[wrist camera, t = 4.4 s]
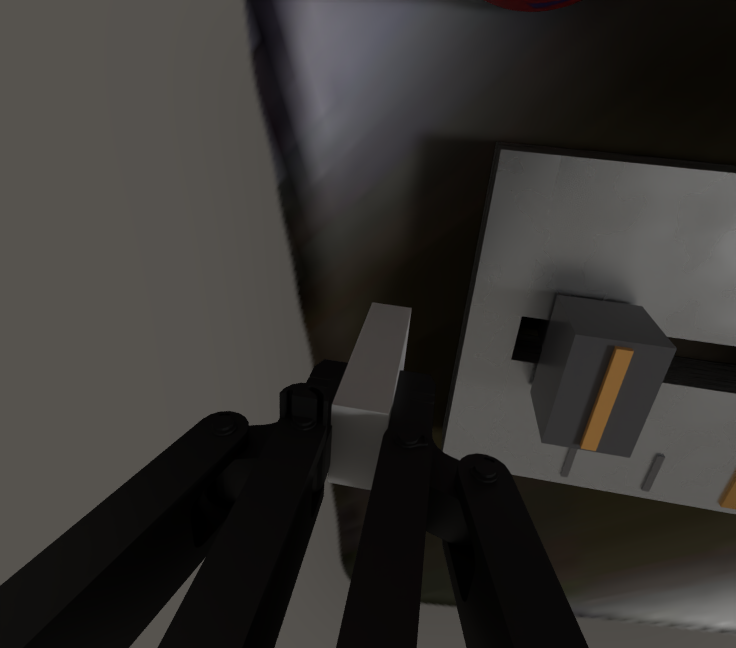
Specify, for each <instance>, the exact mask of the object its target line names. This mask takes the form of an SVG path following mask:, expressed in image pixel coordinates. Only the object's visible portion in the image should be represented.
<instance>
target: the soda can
mask: <svg viewBox="0 0 736 648" xmlns="http://www.w3.org/2000/svg"><path fill="white" fill-rule="evenodd" d="M484 1H486V2H489V3H491V4H493V5H496V6H499V7H502V8H505V9H510V10H515V11H524V12H539V11H548V10H554V9H559V8H562V7H566V6H569V5H572V4H575V3H578V2H580V1H582V0H484Z"/></svg>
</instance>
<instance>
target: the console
mask: <svg viewBox="0 0 736 648" xmlns="http://www.w3.org/2000/svg"><path fill="white" fill-rule="evenodd" d="M557 295H563V296H571V297H578V298H586V299H593V300H601V301H608V302H616V303H623V304H630V305H638V306H642V307H643V308H644V309H645V310H646V311H647V313H648V314H649V315H650V316H651V318H652V319H653V320H654V321H655V323H656V324H657V325H658V326H659V328H660V329H661V330H662V331H663V332H664V334H665V335H666V336H667V337H673V338H680V339H687V340H695V341H702V342H709V343H716V344H723V345H730V346H736V165H726V164H716V163H706V162H696V161H686V160H676V159H666V158H656V157H646V156H636V155H626V154H616V153H607V152H597V151H587V150H577V149H567V148H557V147H547V146H537V145H527V144H517V143H507V142H497V141H496V146H495V151H494V157H493V162H492V167H491V173H490V178H489V183H488V189H487V194H486V199H485V205H484V210H483V215H482V221H481V226H480V231H479V236H478V242H477V247H476V252H475V258H474V263H473V268H472V274H471V279H470V284H469V290H468V295H467V300H466V306H465V311H464V316H463V322H462V327H461V332H460V338H459V343H458V348H457V354H456V359H455V364H454V370H453V375H452V380H451V385H450V391H449V396H448V401H447V407H446V412H445V417H444V423H443V428H442V447H441V451H443V452H444V453H445V454H447V455H449V456H451V457H453V458H456V459H458V460H461V458H463V457H465V456H466V455H468V454H475V453H479V454H486V455H489V456H491V457H494V458H496V459H498V460H499V461H501V462H502V463H503V464H505V466H506V467H507V468H508V470H509V471H510V473H511V474H513V475H519V476H524V477H530V478H535V479H541V480H547V481H552V482H558V483H563V484H569V485H575V486H580V487H586V488H592V489H597V490H603V491H608V492H614V493H620V494H625V495H631V496H636V497H642V498H648V499H653V500H659V501H665V502H670V503H676V504H681V505H687V506H693V507H698V508H704V509H709V510H715V511H721V512H726V513H732V514H736V365H730V364H724V363H717V362H710V361H703V360H696V359H689V358H682V357H675V356H674V357H673V359H672V361H671V364H670V366H669V368H668V371H667V373H666V375H665V378H664V380H663V382H662V385H661V387H660V389H659V392H658V394H657V396H656V399H655V401H654V403H653V405H652V408H651V410H650V412H649V415H648V417H647V419H646V422H645V424H644V426H643V429H642V431H641V433H640V436H639V438H638V440H637V443H636V445H635V447H634V450H633V452H632V454H631V457H630V458H627V457H621V456H615V455H610V454H604V453H598V452H592V451H586V450H580V449H574V448H568V447H562V446H556V445H551V444H545V443H541V438H540V434H539V429H538V425H537V420H536V416H535V412H534V407H533V403H532V398H531V394H530V390H531V387H532V383H533V380H534V376H535V373H536V369H537V366H538V362H539V358H540V355H541V351H542V346H541V343H540V340H539V337H537V336H530V335H523V334H518V330H519V326H520V322H521V318H522V316H524V317H531V318H538V319H545V320H550V319H551V316H552V312H553V309H554V305H555V302H556V298H557Z"/></svg>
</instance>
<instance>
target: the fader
mask: <svg viewBox="0 0 736 648" xmlns="http://www.w3.org/2000/svg"><path fill="white" fill-rule="evenodd" d="M537 333H538V336H539V340H540V343H541V346H542V351H541V355H540V358H539V362H538V366H537V369H536V373H535V376H534V380H533V383H532V387H531V390H530V394H531V398H532V403H533V407H534V412H535V416H536V420H537V425H538V429H539V434H540V438H541V443H545V444H551V445H556V446H562V447H568V448H574V449H580V450H586V451H592V452H598V453H604V454H610V455H615V456H621V457H627V458H630V457H631V454H632V452H633V450H634V447H635V445H636V443H637V440H638V438H639V436H640V433H641V431H642V429H643V426H644V424H645V422H646V419H647V417H648V415H649V412H650V410H651V408H652V405H653V403H654V401H655V399H656V396H657V394H658V392H659V389H660V387H661V385H662V382H663V380H664V378H665V375H666V373H667V371H668V368H669V366H670V364H671V361H672V359H673V357H674V354H675V352H676V350H677V348H676V347H675V346H674V345H673V344H672V342H671V341H670V340H669V339H668V337H667V336H666V335H665V334H664V332H663V331H662V330H661V329H660V328H659V326H658V325H657V324H656V323H655V321H654V320H653V319H652V318H651V316H650V315H649V314H648V313H647V311H646V310H645V309H644V308H643V307H642V306H638V305H630V304H623V303H616V302H608V301H601V300H593V299H586V298H578V297H571V296H563V295H557V298H556V302H555V305H554V309H553V312H552V316H551V319H550V320H545V319H541V321H540V324H539V328H538V332H537Z"/></svg>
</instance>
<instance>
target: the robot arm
mask: <svg viewBox="0 0 736 648" xmlns="http://www.w3.org/2000/svg"><path fill="white" fill-rule="evenodd" d="M411 309H412V308H408V307H401V306H394V305H387V304H380V303H373V302H372V305H371V307H370V310H369V312H368V315H367V317H366V320H365V322H364V325H363V327H362V330H361V332H360V335H359V337H358V340H357V342H356V345H355V347H354V350H353V353H352V355H351V358H350V360H349V363H345V362H339V361H332V360H326V359H324V360H323V361H322V362H320V363H319V364H317V365H316V366H314V368H313V370H312V372H311V374H310V377H309V378H308V380H307V382H306V383H298V384H292V385H290V386H288V387H286V388H284V389H283V390H282V391H281V392H280V419H279V420H278V422H276V423H272V424H266V425H253V426H249V425H248V424H249V422H248V421H247V419H246V418H245V417H244V416H243V415H241V414H239V413H236V412H231V411H226V412H225V411H224V412H217V413H214V414H210V415H209V416H207V417H206V418H204V419H202V420H201V421H200V422H199V423H197V424H196V425H195V426H194V427H193V428H191V429H190V430H189V431H188V432H186V433H185V434H184V435H183V436H182V437H180V438H179V439H178V440H177V441H176V442H174V443H173V444H172V445H171V446H169V447H168V448H167V449H166V450H165V451H163V452H162V453H161V454H160V455H158V456H157V457H156V458H155V459H154V460H152V461H151V462H150V463H149V464H148V465H146V466H145V467H144V468H143V469H141V470H140V471H139V472H138V473H137V474H135V475H134V476H133V477H132V478H131V479H129V480H128V481H127V482H126V483H124V484H123V485H122V486H121V487H120V488H118V489H117V490H116V491H115V492H114V493H112V494H111V495H110V496H109V497H108V498H106V499H105V500H104V501H103V502H102V503H100V504H99V505H98V506H97V507H95V508H94V509H93V510H92V511H91V512H89V513H88V514H87V515H86V516H84V517H83V518H82V519H81V520H80V521H78V522H77V523H76V524H75V525H73V526H72V527H71V528H70V529H69V530H67V531H66V532H65V533H64V534H63V535H61V536H60V537H59V538H58V539H57V540H55V541H54V542H53V543H52V544H50V545H49V546H48V547H47V548H46V549H44V550H43V551H42V552H41V553H39V554H38V555H37V556H36V557H35V558H33V559H32V560H31V561H30V562H29V563H27V564H26V565H25V566H24V567H22V568H21V569H20V570H19V571H18V572H16V573H15V574H14V575H13V576H12V577H10V578H9V579H8V580H7V581H5V582H4V583H3V584H2V585H1V586H0V648H129V647H130V646H131V645H132V644H133V642H134V641H135V640H136V639H137V637H138V636H139V635H140V634H141V633H142V632H143V631H144V629H145V628H146V627H147V626H148V625H149V623H150V622H151V621H152V620H153V619H154V618H155V616H156V615H157V614H158V613H159V611H160V610H161V609H162V608H163V607H164V606H165V605H166V603H167V602H168V601H169V600H170V599H171V597H172V596H173V595H174V594H175V593H176V591H177V590H178V589H179V588H180V587H181V586H182V584H183V583H184V582H185V581H186V580H187V578H188V577H189V576H190V575H191V574H192V573H193V571H194V570H195V569H196V568H197V567H198V565H199V564H200V563H201V562H202V561H203V560H204V558H205V557H206V558H205V560H204V562H203V563H202V565H201V567H200V569H199V571H198V573H197V575H196V577H195V578H194V581H193V582H192V584H191V586H190V588H189V590H188V592H187V594H186V595H185V597H184V599H183V601H182V603H181V605H180V607H179V609H178V611H177V612H176V614H175V616H174V618H173V620H172V622H171V624H170V626H169V628H168V629H167V631H166V633H165V635H164V637H163V639H162V641H161V643H160V644H159V646H158V648H274V647H275V644H276V641H277V638H278V635H279V632H280V629H281V626H282V623H283V620H284V617H285V614H286V610H287V607H288V604H289V601H290V598H291V595H292V592H293V589H294V586H295V583H296V580H297V576H298V573H299V570H300V567H301V564H302V561H303V558H304V555H305V552H306V549H307V546H308V543H309V539H310V537H311V533H312V530H313V527H314V524H315V521H316V518H317V515H318V512H319V509H320V506H321V503H322V500H323V496H324V482H325V479H326V476H327V473H328V482H330V483H336V484H341V485H346V486H352V487H357V488H362V489H368V490H371V492H370V497H369V502H368V506H367V511H366V515H365V520H364V524H363V529H362V533H361V538H360V542H359V547H358V551H357V556H356V560H355V565H354V569H353V574H352V578H351V583H350V588H349V592H348V596H347V601H346V605H345V610H344V614H343V619H342V623H341V628H340V633H339V637H338V642H337V646H336V648H417V636H418V635H417V634H418V623H419V610H420V598H421V585H422V572H423V560H424V547H425V534H426V531H427V532H429V533H431V534H433V535H435V536H437V537H439V538H441V539H442V546H443V550H444V554H445V558H446V563H447V567H448V571H449V575H450V580H451V584H452V588H453V592H454V597H455V601H456V605H457V609H458V614H459V618H460V622H461V626H462V630H463V635H464V639H465V643H466V647H467V648H588V645H587V643H586V641H585V638H584V636H583V634H582V632H581V630H580V627H579V625H578V623H577V621H576V618H575V616H574V614H573V612H572V609H571V607H570V605H569V603H568V600H567V598H566V596H565V594H564V591H563V589H562V587H561V585H560V582H559V580H558V578H557V576H556V574H555V571H554V569H553V567H552V565H551V562H550V560H549V558H548V556H547V553H546V551H545V549H544V547H543V544H542V542H541V540H540V538H539V536H538V533H537V531H536V529H535V527H534V524H533V522H532V520H531V518H530V515H529V513H528V511H527V509H526V506H525V504H524V502H523V500H522V498H521V495H520V493H519V491H518V489H517V486H516V484H515V482H514V480H513V477H512V475H511V473H510V471H509V470H508V468H507V467H506V466H505V464H503V463H502V462H501V461H499V460H498V459H496V458H494V457H491V456H489V455H486V454H479V453H475V454H468V455H466V456H465V457H463V458H461V460H458V459H456V458H453V457H451V456H449V455H447V454H445V453H444V452H443V451H441V450H440V449H439V448H438V447H437V446H436V445H435V443H434V441H433V439H432V426H433V414H434V401H435V388H436V384H435V382H434V381H433V379H432V377H431V375H428V374H422V373H415V372H409V371H403V370H404V362H405V355H406V347H407V339H408V332H409V324H410V317H411Z"/></svg>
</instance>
